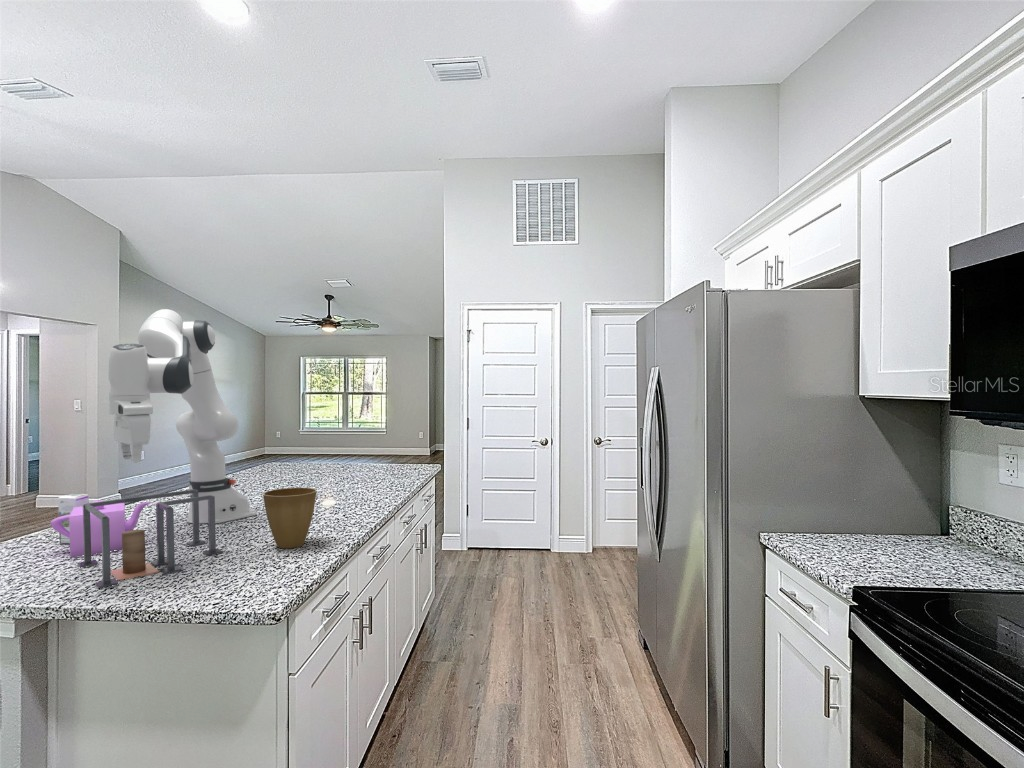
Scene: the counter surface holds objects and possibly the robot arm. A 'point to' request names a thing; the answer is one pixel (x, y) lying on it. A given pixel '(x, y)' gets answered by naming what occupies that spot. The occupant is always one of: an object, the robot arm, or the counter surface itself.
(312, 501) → the plant pot
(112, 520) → the teapot
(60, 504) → the syrup box
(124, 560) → the walnut cylinder
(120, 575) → the tile
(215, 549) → the dark grey bar frame
